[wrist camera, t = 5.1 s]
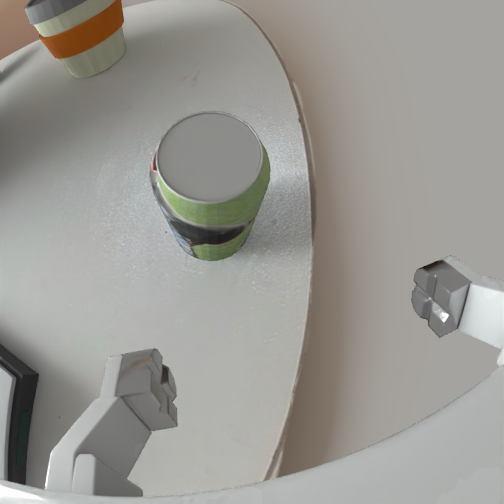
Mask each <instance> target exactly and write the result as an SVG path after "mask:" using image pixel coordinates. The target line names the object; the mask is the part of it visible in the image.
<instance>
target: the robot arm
mask: <svg viewBox="0 0 504 504" xmlns="http://www.w3.org/2000/svg"><path fill="white" fill-rule="evenodd" d="M414 281H415V283H416V284H417V285H416V287H415V288H414V290H413V291H412V304H413V308H414V310H415V312H416V313H417V314H418V315H419V316H420V318H423V319H426V320H428V326H429V327H430V328H431V329H432V330H433V331H434V332H435V333H436V335H437V336H438V337H439V338H440V337H442V336H444V335H446V334H448V333H450V332H452V331H454V330H456V329H458V330H460V331H462V332H464V333H467V334H469V335H471V336H473V337H475V338H477V339H480V340H482V341H484V342H486V343H489V344H491V345H493V346H495V347H498V348H500V349H501V350H500V353H499V355H498V357H497V360H496V362H497V364H498V365H499V366H500V367H499V368H498V369H497V370H495V371H494V372H493V373H491V374H490V375H489V376H488V377H486V378H485V379H484V380H482V381H481V382H480V383H478V384H477V385H475V386H474V387H473V388H471V389H470V390H468V391H467V392H465V393H464V394H463V395H461V396H460V397H458V398H457V399H455V400H454V401H452V402H451V403H449V404H447V405H446V406H444V407H443V408H441V409H439V410H438V411H436V412H434V413H433V414H431V415H429V416H428V417H426V418H424V419H422V420H421V421H419V422H417V423H415V424H413V425H412V426H410V427H408V428H406V429H404V430H402V431H400V432H398V433H396V434H394V435H392V436H390V437H388V438H386V439H384V440H382V441H379V442H377V443H375V444H373V445H371V446H368V447H366V448H364V449H361V450H359V451H357V452H354V453H352V454H349V455H347V456H344V457H341V458H339V459H336V460H333V461H331V462H328V463H325V464H322V465H319V466H316V467H313V468H310V469H307V470H304V471H301V472H298V473H294V474H290V475H287V476H283V477H279V478H275V479H271V480H267V481H263V482H259V483H254V484H250V485H245V486H240V487H234V488H229V489H223V490H216V491H209V492H202V493H193V494H183V495H170V496H150V497H143V491H142V489H141V488H140V487H138V486H137V485H135V484H134V483H132V482H131V481H129V480H127V477H128V475H129V473H130V472H131V470H132V468H133V466H134V464H135V462H136V460H137V459H138V457H139V455H140V453H141V451H142V449H143V448H144V446H145V444H146V442H147V440H148V438H149V436H150V435H151V431H155V430H161V429H167V428H173V427H178V423H177V408H176V406H175V405H174V403H173V401H174V399H175V398H176V396H177V395H176V385H175V381H174V378H173V375H172V373H171V371H170V369H169V367H167V366H165V365H163V364H162V358H163V357H162V355H161V354H160V352H159V351H158V349H155V348H154V349H148V350H143V351H137V352H132V353H126V354H122V355H116V356H110V357H109V358H108V359H107V363H106V367H105V372H104V377H103V381H102V386H101V391H100V397H99V399H95V400H94V401H93V402H92V403H91V404H90V406H89V407H88V408H87V409H86V410H85V412H84V413H83V414H82V415H81V416H80V417H79V419H78V420H77V421H76V422H75V423H74V425H73V426H72V427H71V428H70V429H69V430H68V432H67V433H66V434H65V435H64V436H63V438H62V439H61V440H60V441H59V442H58V444H57V445H56V446H55V447H54V448H53V450H52V451H51V454H50V460H49V465H48V471H47V477H46V484H45V489H41V488H36V487H31V486H27V485H22V484H18V483H14V482H10V481H6V480H2V479H0V504H504V280H501V279H496V278H492V277H488V276H484V277H482V276H480V275H479V274H478V273H476V272H475V271H474V270H472V269H471V268H470V267H468V266H467V265H466V264H464V263H463V262H461V261H460V260H459V259H457V258H456V257H454V256H451V255H449V256H447V257H445V258H443V259H440V260H439V261H436V262H434V263H431V264H429V265H427V266H424V267H422V268H419V269H417V270H416V272H415V274H414Z"/></svg>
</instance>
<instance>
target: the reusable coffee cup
mask: <svg viewBox="0 0 504 504" xmlns="http://www.w3.org/2000/svg"><path fill="white" fill-rule="evenodd" d="M25 10H26V13H27V16H28V19H29V22H30V24H31V25H34V26H35V27H36V28H37V30H38V31H39V32H40V35H39V37H40V39H41V40H42V42H43V43H44V44H45V46H46V47H47V48H48V49H49V51H50V52H51V53H52V55H53V56H54V57H55V58H58V59H60V60H61V61H62V63H63V64H64V65H65V66H66V68H67V69H68V70H69V72H70V73H71V74H72V75H73V76H74V77H75V78H81V79H82V78H87V77H91V76H94V75H96V74H98V73H101V72H103V71H104V70H106V69H108V68H109V67H111V66H112V65H114V64H115V63H116V62H117V61H118V60H119V59H120V58H121V57H122V56H123V55H124V53H125V50H126V47H125V41H124V36H123V30H122V24H123V22H124V17H123V11H122V4H121V0H30V1H29V2H28V3H27V4H26V6H25Z"/></svg>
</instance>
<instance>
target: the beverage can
mask: <svg viewBox="0 0 504 504" xmlns="http://www.w3.org/2000/svg"><path fill="white" fill-rule="evenodd" d="M269 180H270V162H269V157H268V154H267V152H266V149H265V147H264V146H263V144H262V142H261V141H260V139H259V137H258V135H257V134H256V132H255V131H254V130H253V129H252V127H251V126H249V125H248V124H247V123H246V122H245V121H243V120H241V119H240V118H238V117H236V116H233V115H231V114H228V113H223V112H216V111H205V112H199V113H194V114H191V115H188V116H186V117H184V118H182V119H180V120H179V121H177V122H176V123H174V124H173V125H172V126H171V127H170V128H169V129H168V130H167V131H166V132H165V134H164V135H163V136H162V138H161V140H160V142H159V144H158V146H157V148H156V150H155V152H154V154H153V156H152V160H151V164H150V182H151V187H152V190H153V192H154V195H155V197H156V199H157V201H158V203H159V205H160V208H161V210H162V212H163V214H164V216H165V218H166V220H167V222H168V224H169V226H170V228H171V230H172V232H173V234H174V236H175V238H176V240H177V241H178V243H179V244H180V246H181V247H182V248H183V249H184V250H185V251H186V252H187V253H188V254H190V255H191V256H193V257H196V258H198V259H201V260H207V261H216V260H221V259H225V258H227V257H229V256H231V255H233V254H234V253H236V252H237V251H238V250H239V249H240V248H241V247H242V246H243V244H244V243H245V241H246V239H247V237H248V235H249V232H250V230H251V227H252V225H253V222H254V220H255V217H256V215H257V213H258V210H259V208H260V205H261V203H262V200H263V198H264V195H265V193H266V190H267V187H268V184H269Z"/></svg>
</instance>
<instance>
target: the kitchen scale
mask: <svg viewBox="0 0 504 504" xmlns="http://www.w3.org/2000/svg"><path fill="white" fill-rule="evenodd" d="M38 376H39V374H38V373H36V372H35V371H34V370H32V369H31V368H29V367H28V366H27V365H25V364H24V363H23V362H22V361H20V360H19V359H18V358H16V357H15V356H14V355H13V354H11V353H10V352H9V351H8V350H7V349H5V348H4V347H3V346H2V345H1V344H0V479H2V480H6V481H10V482H14V483H18V484H22V485H25V484H26V461H27V448H28V438H29V430H30V422H31V415H32V408H33V402H34V397H35V391H36V386H37V381H38Z"/></svg>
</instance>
